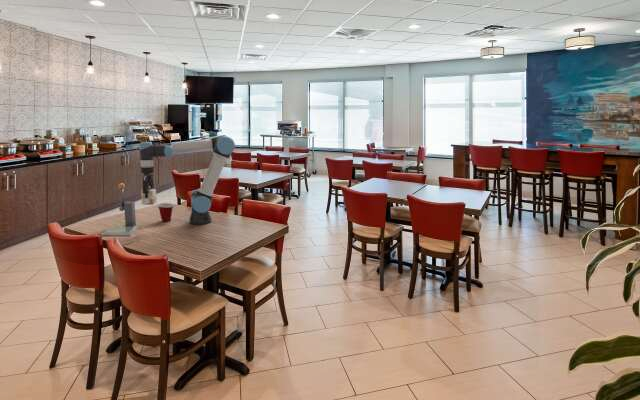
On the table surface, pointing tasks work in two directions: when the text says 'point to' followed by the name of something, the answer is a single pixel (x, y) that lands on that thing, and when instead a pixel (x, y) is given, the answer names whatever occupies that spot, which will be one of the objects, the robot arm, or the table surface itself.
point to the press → (129, 222)
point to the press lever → (121, 196)
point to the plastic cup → (165, 211)
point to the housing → (151, 196)
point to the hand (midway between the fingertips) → (149, 201)
